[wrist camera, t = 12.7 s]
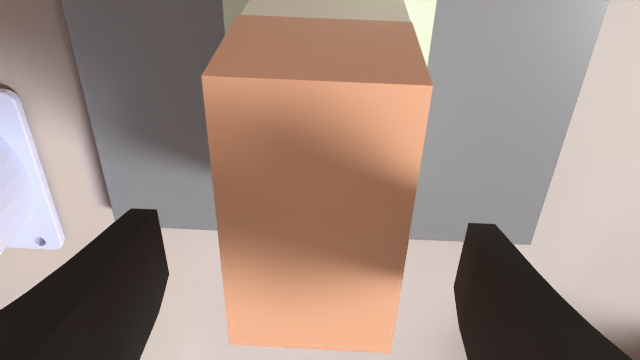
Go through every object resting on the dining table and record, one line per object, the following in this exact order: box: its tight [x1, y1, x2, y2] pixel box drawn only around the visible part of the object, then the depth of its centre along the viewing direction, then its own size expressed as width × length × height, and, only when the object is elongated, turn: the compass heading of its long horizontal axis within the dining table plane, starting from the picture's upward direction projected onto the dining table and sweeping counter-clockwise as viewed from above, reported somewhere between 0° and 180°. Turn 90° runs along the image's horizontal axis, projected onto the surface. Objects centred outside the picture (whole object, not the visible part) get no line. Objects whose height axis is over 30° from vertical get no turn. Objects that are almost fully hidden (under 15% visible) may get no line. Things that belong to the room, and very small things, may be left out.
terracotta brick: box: [201, 15, 433, 353], centre depth 14 cm, size 4×8×4 cm, turn 179°
